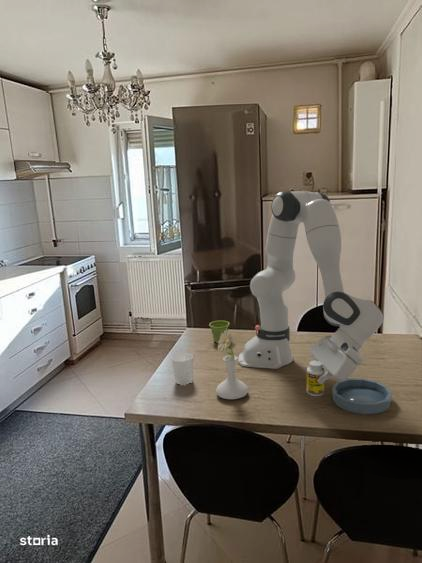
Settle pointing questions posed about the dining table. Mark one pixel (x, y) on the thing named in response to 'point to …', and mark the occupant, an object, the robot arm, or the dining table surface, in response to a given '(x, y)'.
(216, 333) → the plant pot
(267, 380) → the dining table surface
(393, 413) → the dining table surface
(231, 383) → the flower in vase
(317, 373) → the supplement bottle
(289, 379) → the dining table surface
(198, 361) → the dining table surface
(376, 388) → the slate dish
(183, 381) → the white cup
